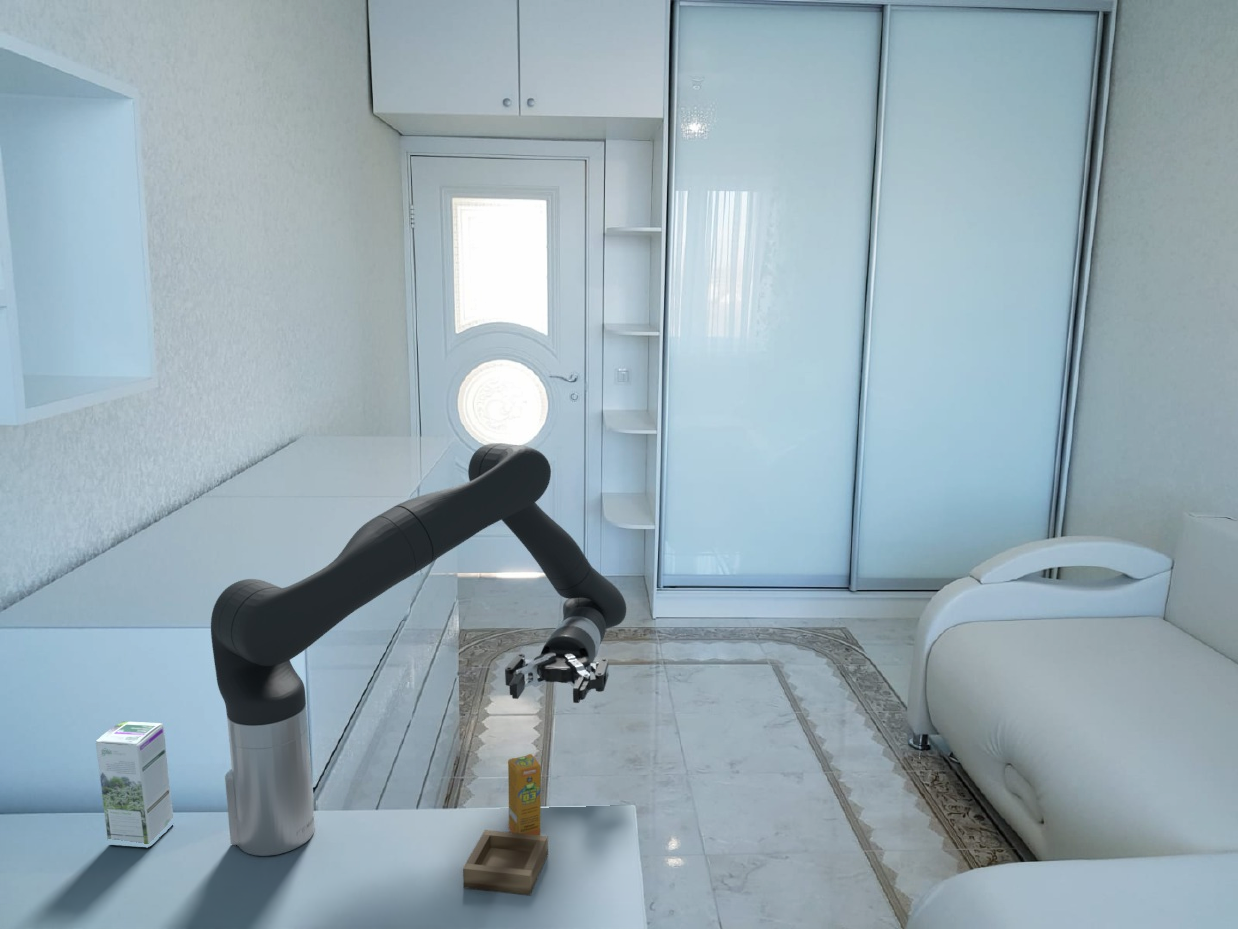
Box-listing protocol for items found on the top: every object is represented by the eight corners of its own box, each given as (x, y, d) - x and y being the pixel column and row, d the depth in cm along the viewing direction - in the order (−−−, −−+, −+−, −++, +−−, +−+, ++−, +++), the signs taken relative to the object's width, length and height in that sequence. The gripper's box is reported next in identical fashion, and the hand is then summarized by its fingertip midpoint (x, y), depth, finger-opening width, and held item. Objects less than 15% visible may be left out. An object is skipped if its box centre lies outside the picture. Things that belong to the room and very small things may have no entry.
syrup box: (176, 824, 123) (165, 720, 120) (148, 851, 117) (137, 742, 114) (135, 822, 123) (123, 718, 121) (105, 848, 118) (93, 740, 115)
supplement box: (518, 844, 118) (516, 770, 116) (508, 830, 121) (506, 758, 119) (542, 836, 120) (541, 763, 118) (532, 823, 123) (530, 752, 121)
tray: (463, 888, 110) (462, 868, 109) (485, 848, 117) (484, 829, 117) (530, 895, 108) (529, 875, 108) (547, 854, 116) (547, 836, 115)
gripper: (525, 622, 144) (493, 665, 128) (617, 627, 141) (595, 671, 126) (527, 668, 145) (495, 716, 130) (618, 674, 143) (597, 724, 127)
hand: (544, 694), depth 128 cm, fingers open, 8 cm apart
